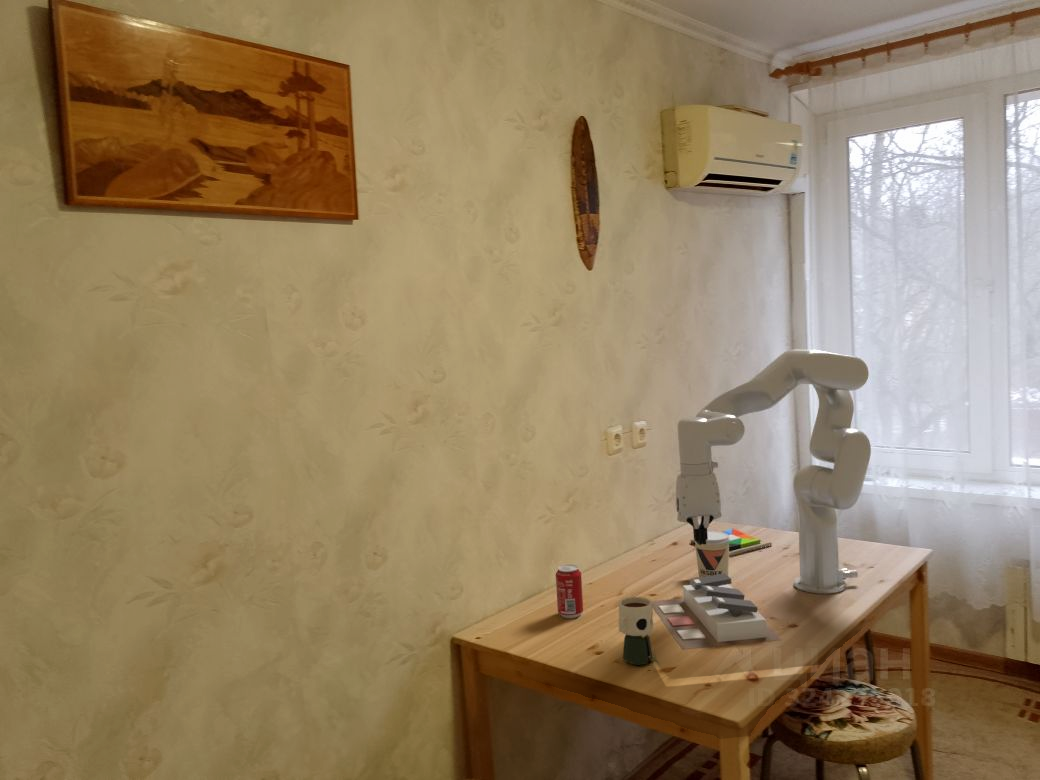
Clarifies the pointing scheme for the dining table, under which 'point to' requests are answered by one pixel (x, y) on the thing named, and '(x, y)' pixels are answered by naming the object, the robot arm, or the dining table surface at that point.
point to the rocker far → (710, 581)
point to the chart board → (694, 626)
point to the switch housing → (724, 618)
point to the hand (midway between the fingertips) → (701, 542)
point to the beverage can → (569, 591)
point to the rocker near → (734, 605)
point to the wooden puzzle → (741, 542)
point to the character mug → (636, 628)
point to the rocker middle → (722, 592)
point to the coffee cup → (713, 554)
